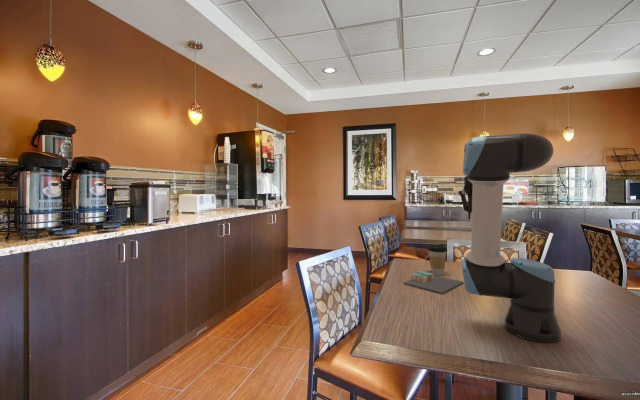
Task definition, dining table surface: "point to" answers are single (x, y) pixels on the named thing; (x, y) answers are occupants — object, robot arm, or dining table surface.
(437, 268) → the coffee cup
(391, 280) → the dining table surface
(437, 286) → the mat
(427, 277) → the tan and green block
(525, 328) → the robot arm
